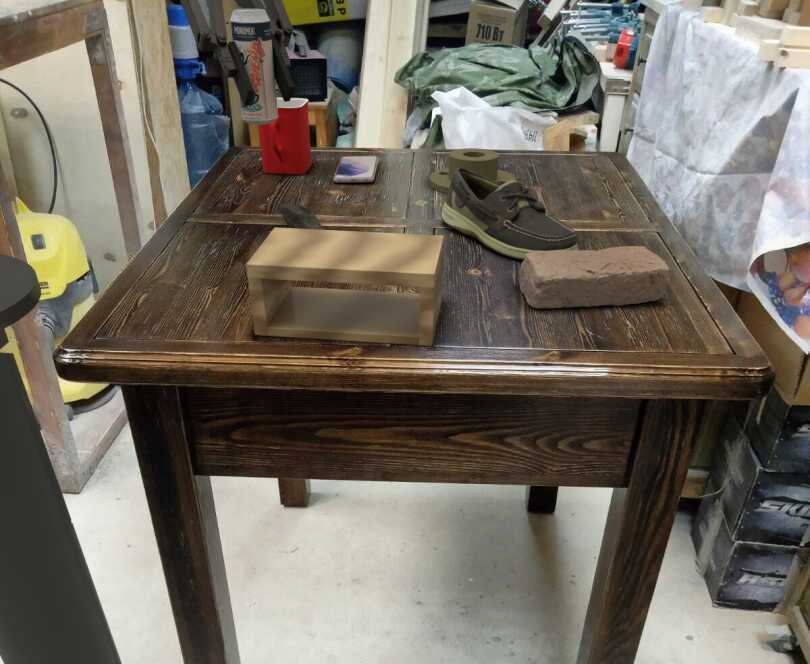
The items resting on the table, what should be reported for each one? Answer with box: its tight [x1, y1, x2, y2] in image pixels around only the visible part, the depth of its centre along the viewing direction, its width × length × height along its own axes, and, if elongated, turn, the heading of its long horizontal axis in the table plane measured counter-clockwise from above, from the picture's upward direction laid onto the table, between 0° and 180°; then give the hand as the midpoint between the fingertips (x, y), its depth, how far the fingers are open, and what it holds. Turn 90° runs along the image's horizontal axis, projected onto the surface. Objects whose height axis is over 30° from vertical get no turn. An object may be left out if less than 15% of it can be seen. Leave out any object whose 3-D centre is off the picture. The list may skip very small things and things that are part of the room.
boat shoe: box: [440, 167, 579, 261], centre depth 107 cm, size 10×25×8 cm, turn 45°
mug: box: [257, 97, 313, 176], centre depth 134 cm, size 12×8×11 cm
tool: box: [276, 202, 326, 230], centre depth 108 cm, size 21×8×3 cm, turn 29°
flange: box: [428, 147, 517, 194], centre depth 131 cm, size 5×15×15 cm
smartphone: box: [333, 155, 379, 184], centre depth 137 cm, size 7×1×15 cm
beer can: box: [229, 8, 278, 125], centre depth 96 cm, size 5×5×12 cm
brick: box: [518, 245, 670, 309], centre depth 93 cm, size 17×8×5 cm, turn 97°
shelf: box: [245, 227, 445, 347], centre depth 86 cm, size 20×12×8 cm, turn 83°
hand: (269, 96), depth 95 cm, fingers closed on beer can, 5 cm apart
